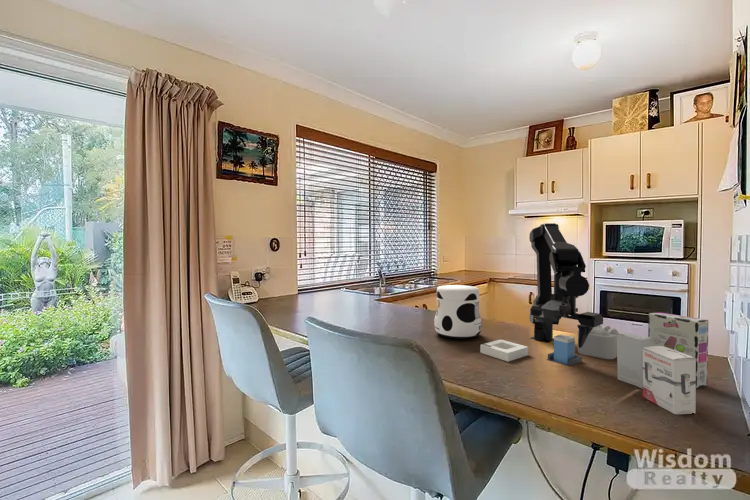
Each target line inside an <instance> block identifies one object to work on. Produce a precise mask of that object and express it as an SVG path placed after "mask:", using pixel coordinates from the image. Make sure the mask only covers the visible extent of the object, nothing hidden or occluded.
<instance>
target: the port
mask: <svg viewBox="0 0 750 500" xmlns="http://www.w3.org/2000/svg"><path fill="white" fill-rule="evenodd" d="M479 349H480V350H479V351H480V354H483V355H486V356H489V357H492V358H495V359H498V360H502V361H505V362H511V361H515V360H517V359H521V358H524V357H527V356H529V346H526V345H523V344H519V343H516V342H511V341H508V340H504V339H502V338H501V339H497V340H492V341H489V342H485V343H482V344H480V348H479Z"/></svg>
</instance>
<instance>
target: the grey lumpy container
mask: <svg viewBox="0 0 750 500" xmlns="http://www.w3.org/2000/svg"><path fill="white" fill-rule="evenodd" d="M618 334H620V332H619V331H618V330H617V329H616V328H612V327H610V325H607V324H606V325H604V326H601V325H598V326H597V327H593V329H592V330H591V332H590V333H589V335H588V336H587V338H586V340H585V342H584V344H583V346H582V348H579V345H578V344H577V352H578V354H581V355H584V356H589V357H594V358H598V359H603V360H614V359H617V335H618ZM578 340H579V329H578V331H577V341H578Z"/></svg>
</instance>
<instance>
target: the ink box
mask: <svg viewBox="0 0 750 500" xmlns="http://www.w3.org/2000/svg"><path fill="white" fill-rule="evenodd" d="M696 389H697V388H696V359H694V357H692V356H689V355H687V354H684V353H681V352H678V351H675V350H672V349H670V348H667V347H663V346H651V347H643V389H642V398H644V399H646V400H648V401H650V402H652V403H653V404H655V405H657V406H658V407H660V408H662V409H664V410H667V411H668V412H670V413H672V414H674V415H690V414H692V413H694V414H696V413H697V412H696V411H697V409H696V408H697V407H696V404H697V403H696V400H697V399H696V398H697V397H696V394H697V393H696Z"/></svg>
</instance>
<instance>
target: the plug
mask: <svg viewBox="0 0 750 500" xmlns="http://www.w3.org/2000/svg"><path fill="white" fill-rule="evenodd" d="M553 338H554V341H553V352H554V360H555V361H559V362H562V363H566V364H569V360H570V359H573V358H575V355H576V354H575V352H576V351H575V350H576V346H575V345H576V344H575V343H576V338H575V337H574V336H572V335H571V336H569V335H567V334H557V335H555V336H553Z"/></svg>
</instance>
